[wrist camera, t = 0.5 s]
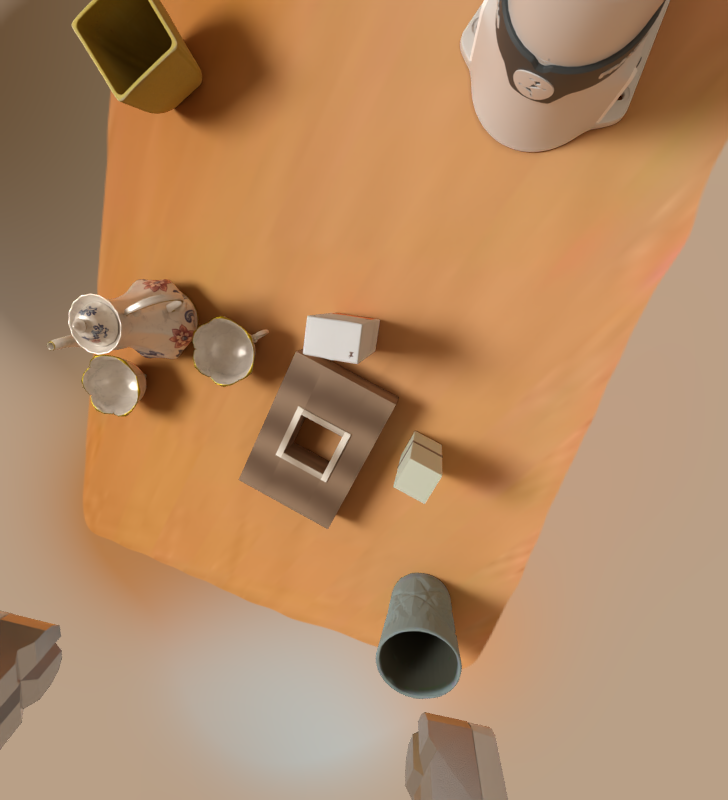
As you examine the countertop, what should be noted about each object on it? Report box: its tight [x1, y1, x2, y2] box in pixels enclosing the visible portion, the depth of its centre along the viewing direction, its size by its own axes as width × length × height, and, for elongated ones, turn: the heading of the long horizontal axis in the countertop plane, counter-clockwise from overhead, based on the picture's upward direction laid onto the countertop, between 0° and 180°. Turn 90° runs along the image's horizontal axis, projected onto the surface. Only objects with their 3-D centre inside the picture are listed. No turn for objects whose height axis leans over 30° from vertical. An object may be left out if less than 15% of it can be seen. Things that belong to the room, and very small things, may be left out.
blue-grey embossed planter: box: [376, 573, 462, 699], centre depth 56 cm, size 10×10×12 cm
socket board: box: [239, 349, 399, 529], centre depth 56 cm, size 20×14×4 cm
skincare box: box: [303, 313, 380, 364], centre depth 48 cm, size 6×4×12 cm
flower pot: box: [72, 0, 202, 114], centre depth 46 cm, size 9×9×9 cm
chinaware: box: [47, 279, 269, 416], centre depth 52 cm, size 28×17×17 cm, turn 112°
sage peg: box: [393, 431, 443, 504], centre depth 51 cm, size 4×4×10 cm
